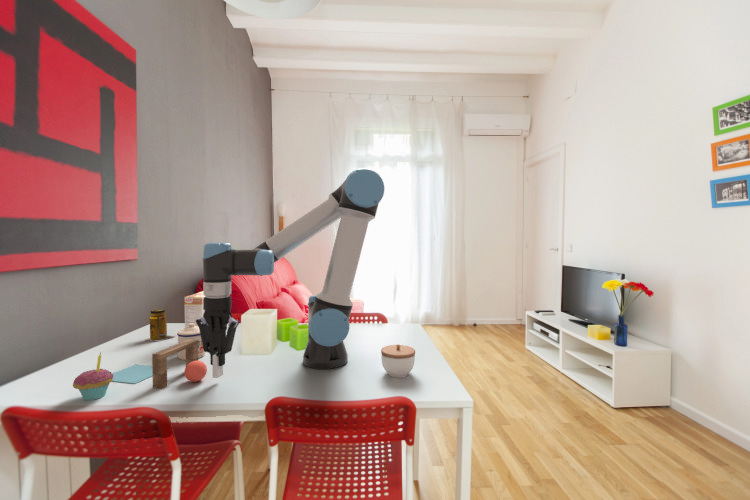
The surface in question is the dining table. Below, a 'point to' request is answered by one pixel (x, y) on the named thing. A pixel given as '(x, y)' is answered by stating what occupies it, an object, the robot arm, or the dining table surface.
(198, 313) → the coffeecake box
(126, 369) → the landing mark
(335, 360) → the robot arm
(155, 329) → the condiment
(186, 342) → the bridge
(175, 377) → the dining table surface
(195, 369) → the ball
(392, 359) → the lidded jar
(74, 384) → the cupcake
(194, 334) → the teacup with lid
